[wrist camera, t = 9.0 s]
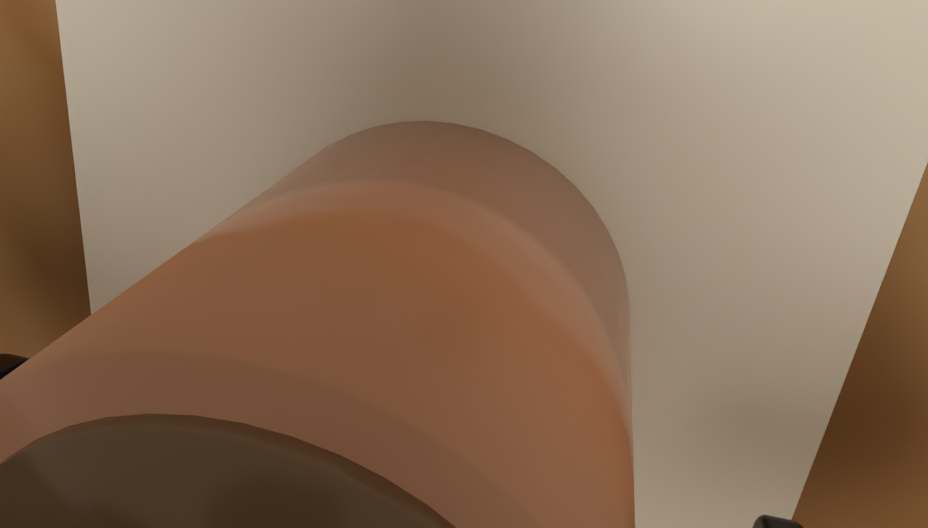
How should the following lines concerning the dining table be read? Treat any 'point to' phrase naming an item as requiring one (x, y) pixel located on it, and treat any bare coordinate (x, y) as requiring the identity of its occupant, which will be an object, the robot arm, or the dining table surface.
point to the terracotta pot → (349, 359)
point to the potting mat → (576, 157)
